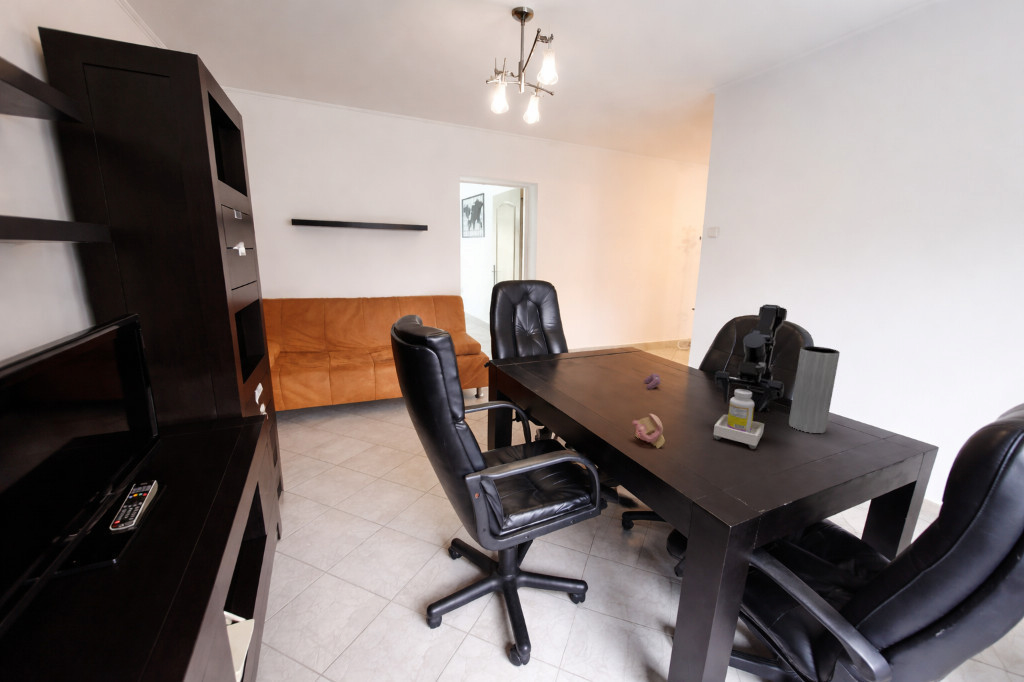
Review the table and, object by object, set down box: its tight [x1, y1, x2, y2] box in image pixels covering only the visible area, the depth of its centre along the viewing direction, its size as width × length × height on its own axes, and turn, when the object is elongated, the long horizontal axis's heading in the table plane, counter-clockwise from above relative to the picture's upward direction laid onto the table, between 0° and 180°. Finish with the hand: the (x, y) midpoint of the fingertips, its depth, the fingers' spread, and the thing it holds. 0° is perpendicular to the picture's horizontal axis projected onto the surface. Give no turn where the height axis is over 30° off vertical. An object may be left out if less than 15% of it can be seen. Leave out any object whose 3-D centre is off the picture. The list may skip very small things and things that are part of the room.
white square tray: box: [713, 413, 765, 450], centre depth 124 cm, size 12×12×5 cm
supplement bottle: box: [727, 388, 755, 433], centre depth 123 cm, size 7×7×13 cm
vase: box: [788, 345, 841, 434], centre depth 130 cm, size 10×10×27 cm
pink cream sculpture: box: [631, 413, 666, 449], centre depth 122 cm, size 9×10×10 cm
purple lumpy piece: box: [643, 372, 661, 390], centre depth 174 cm, size 10×5×7 cm, turn 169°
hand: (741, 406), depth 122 cm, fingers open, 9 cm apart
